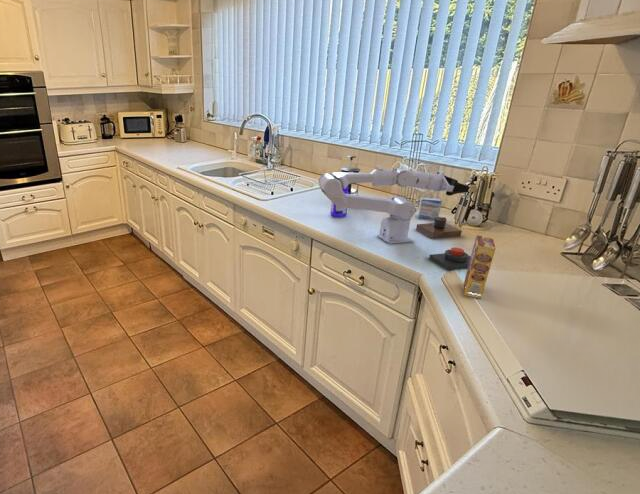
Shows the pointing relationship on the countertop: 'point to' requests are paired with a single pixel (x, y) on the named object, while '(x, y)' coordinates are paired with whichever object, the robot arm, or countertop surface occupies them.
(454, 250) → the switch button
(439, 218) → the dimmer knob
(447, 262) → the switch block
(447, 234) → the panel
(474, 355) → the countertop surface
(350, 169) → the french press
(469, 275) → the candy box
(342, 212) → the bottle
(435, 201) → the medicine box
